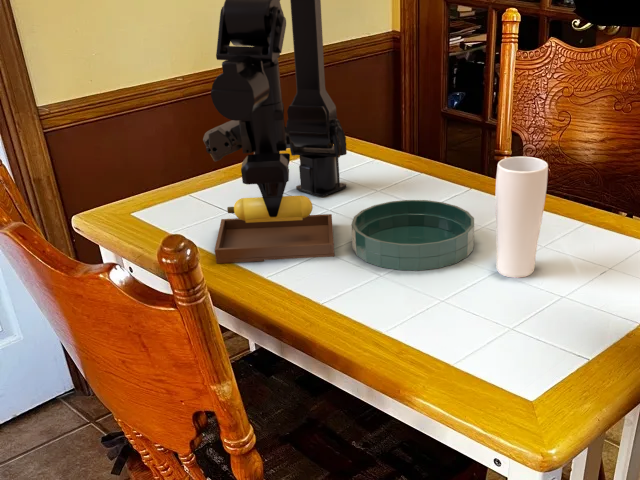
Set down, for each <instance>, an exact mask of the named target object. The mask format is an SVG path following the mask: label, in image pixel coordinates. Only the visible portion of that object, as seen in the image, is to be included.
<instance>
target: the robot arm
mask: <svg viewBox="0 0 640 480" xmlns="http://www.w3.org/2000/svg"><path fill="white" fill-rule="evenodd" d="M289 3H290V15H291V27H292V28H291V31H292V43H293V44H292V45H293V56H294V71H295V86H296V93H295V95H294V97H293V100H292V102H291V103H290V105H288V108H287V110H286V112H287V114H286V115H287V119H286V125H285V105H284V104H285V103H284V102H283V92H282V82H281V74H280V63H279V58H280V56H281V54H282V52H283V46H284V40H285V34H286V30H287V29H286V28H287V19H286V17H285V15H284V10H283V7H282V4H281V0H225V1H224V3H223V6H221V9H220V15H219V23H218V33H217V34H218V35H217V43H216V52H215V58H216V60H217V61H222V62H221V69H222V73H220V74H218V75H217V76H216V77H215V79H214V80H213V83H212V86H211V91H210V97H211V101H212V104H213V106H214V108H215V109H216V110H217V112H218V113H219V114H220V115H221V116H222V117H224V118H226V119H227V120H229V121H226V122H224V123H222V124H220V125H217V126H215V127H213V128H211V129H209V130H207V131H206V132H205V133H204V135H203V138H202V141H203V143H204V145H205V151H206V153H207V154H209V155H210V157H211V158H212V160H213V162H218V161H221V160H222V159H223V158H224V157H226V156H229V155H231V154H233V153H235V152H238V151H240V150H241V151H242V154H247V155H246V157H245V158H244V159H243V161H242V162H241V167H240V173H241V181H242V184H244V185H257V187H258V188H259V191H260V194H261V197H263V200H264V203H265V205H266V208H267V211H268V214H269V216H270V217H277V215H278V211H279V208H280V204H281V200H282V197H283V196H284V193H285V190H286V186H287V183H288V182H289V181H290V169H289V165H290V161H291V156H299V165H298V168H299V169H298V171H299V181H300V184H299V185H296V186H295V190H296V191H300V192H303V193H307V194H310V195H313V196H315V197H316V196H317V197H321V198H323V197H326V196H328V195H331V194H333V193H337V192H338V191H341V190H344V189H346V188H347V184H346V183H343V182H340V179H341V178H340V163H339V158H340V157H341V156H346V155H347V153H348V152H347V151H348V150H347V136H346V134H345V132H344V128H343V126H342V124H341V122H340V119H338V113H337V106H336V104H335V102H334V100H333V99H332V98H331V96H330V95H329V92H328V91H327V90H326V79H325V78H326V77H325V76H326V75H325V58H324V39H323V38H324V37H323V21H322V20H323V19H322V2H321V0H290V2H289ZM231 44H232V45H231ZM287 149H289V150H290V153H289V152H286V151H287ZM281 152H282V153H281ZM252 153H253V154H252Z"/></svg>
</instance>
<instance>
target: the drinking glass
mask: <svg viewBox="0 0 640 480" xmlns="http://www.w3.org/2000/svg"><path fill="white" fill-rule="evenodd" d="M496 166H497V167H496V175H495V191H494V193H495V194H494V195H495V196H494V198H495V199H494V200H495V201H494V202H495V231H496V233H495V234H496V235H495V237H496V265H495V266H496V268H495V269H496V271H497V272H498V273H499V275H501V276H503V277H507V278H513V279H520V278H526V277H529V276H530V275H532V274H533V273H534V271H535V267H536V256H537V251H538V250H537V249H538V243H539V238H540V232H541V226H542V221H543V215H544V210H545V205H546V199H547V190H548V180H549V179H548V178H549V163H548V162H547V161H545V160H544V159H541V158H538V157H533V156H523V155H522V156H511V157H505V158H502V159H501V160H499V161H498V162H497V165H496Z"/></svg>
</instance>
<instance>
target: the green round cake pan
mask: <svg viewBox="0 0 640 480" xmlns="http://www.w3.org/2000/svg"><path fill="white" fill-rule="evenodd" d="M350 226H351V240H352V250H353V251H354V253H355V256H356V257H357V258H360V259H361V260H362V261H364V262H365V263H367V264H371V265H374V266H376V267H379V268H385V269H392V270H396V271H426V270H434V269H441V268H444V267H448V266H452V265H455V264H457V263H459V262H461V261H463V260H465V259H466V258H468V257H469V255H470V254H471V253H472V252H473V251H474V237H475V218H474V216H473V215H472V214H471V213H470V212H469V211H468V210H465V209H464V208H462V207H460V206H457V205H455V204H451V203H447V202H443V201H435V200H428V199H403V200H393V201H392V200H391V201H386V202H382V203H378V204H374V205H371V206H369V207H367V208H365V209H361V210H360V211H359V212H358V213H357V214H355V215H354V216H353V219H352V221H351V225H350Z"/></svg>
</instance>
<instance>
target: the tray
mask: <svg viewBox="0 0 640 480" xmlns="http://www.w3.org/2000/svg"><path fill="white" fill-rule="evenodd" d="M334 242H335V241H334V227H333V214H332V213H326V214H325V213H324V214H323V213H322V214H310V215H309V216H307V217H305V218H303V220H295V221H274V222H252V223H246V221H243V220H241V219H239V218H238V217H236V218H221V220H220V224H219V228H218V232H217V238H216V242H215V245H214V246H215V247H214V255H215V261H216V264H231V263H232V264H233V263H251V262H253V263H254V262H265V261H270V260H289V259H290V260H291V259H292V260H293V259H310V258H311V259H312V258H313V259H314V258H334V257H335V243H334Z"/></svg>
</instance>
